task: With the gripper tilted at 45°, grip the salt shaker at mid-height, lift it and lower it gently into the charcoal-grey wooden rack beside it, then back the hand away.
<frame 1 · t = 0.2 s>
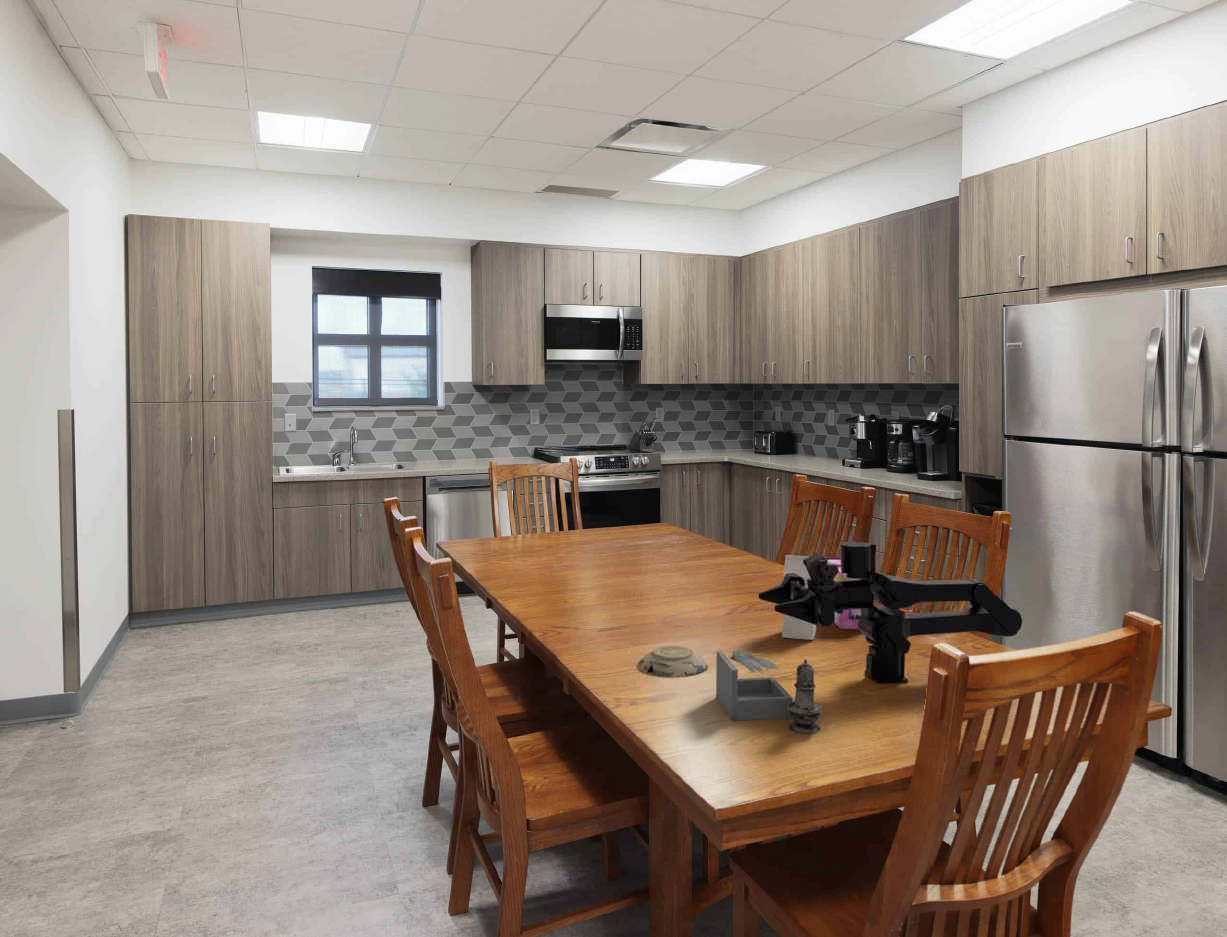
hand: (766, 602, 160), 16 cm above the table, tool horizontal, fingers open, 9 cm apart
shaker rack: (753, 707, 150), on the table
decorative bowl: (672, 668, 173), on the table
milk carton: (799, 636, 195), on the table
leaf: (762, 672, 171), on the table
gum box: (844, 618, 211), on the table
salt shaker: (804, 728, 141), on the table
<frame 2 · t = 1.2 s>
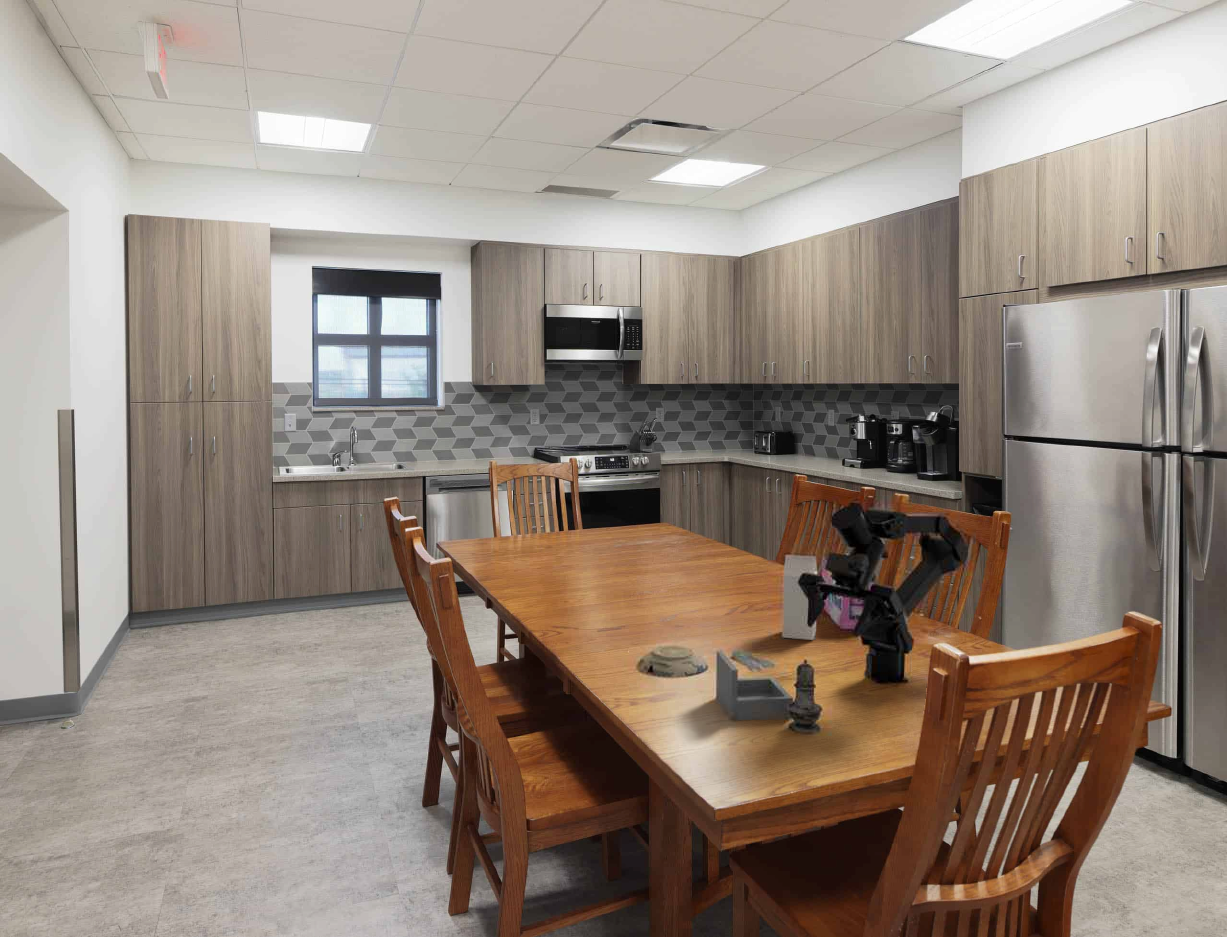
hand: (831, 630, 150), 14 cm above the table, tool tilted 45°, fingers open, 9 cm apart
nothing on the table moved.
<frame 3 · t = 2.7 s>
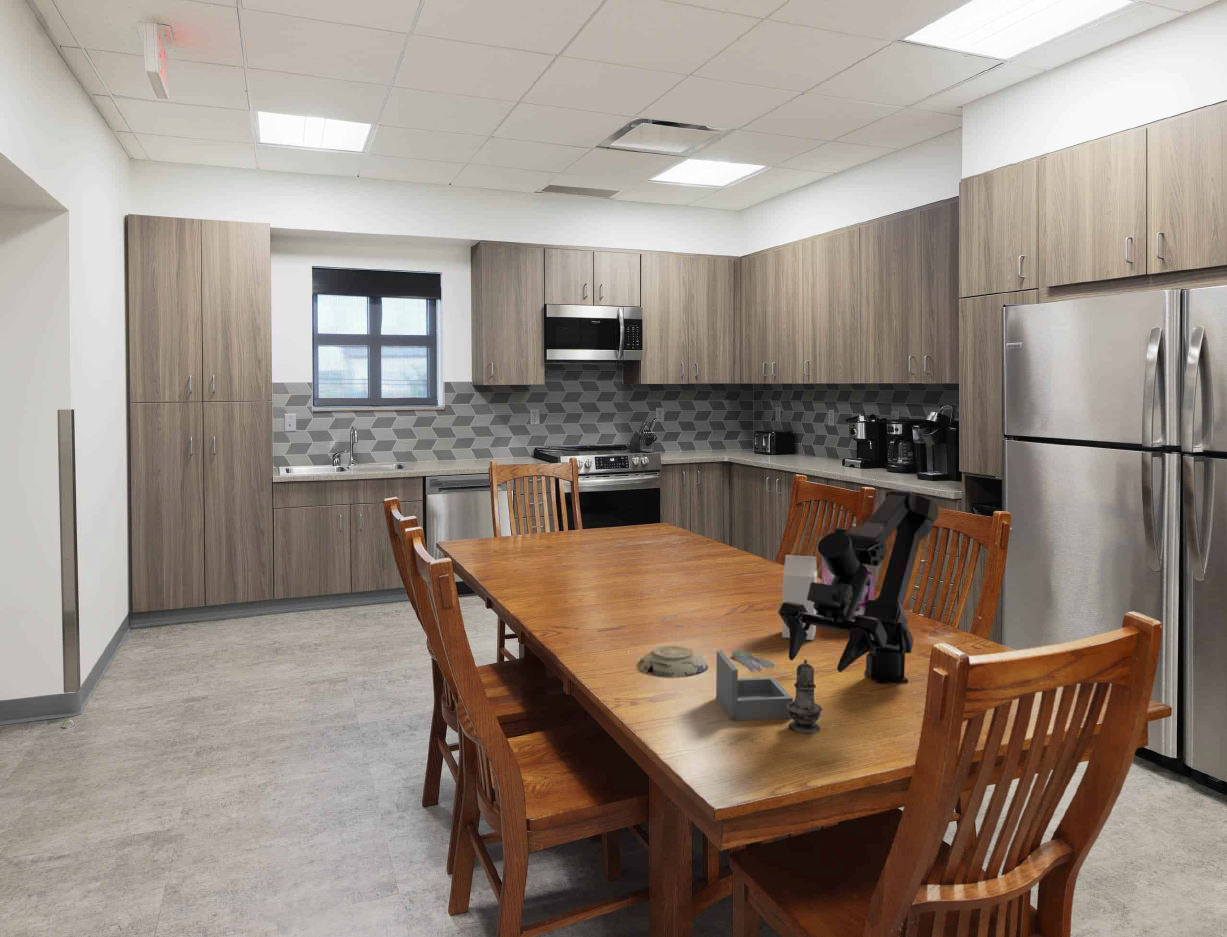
hand: (814, 664, 142), 10 cm above the table, tool tilted 45°, fingers open, 9 cm apart
nothing on the table moved.
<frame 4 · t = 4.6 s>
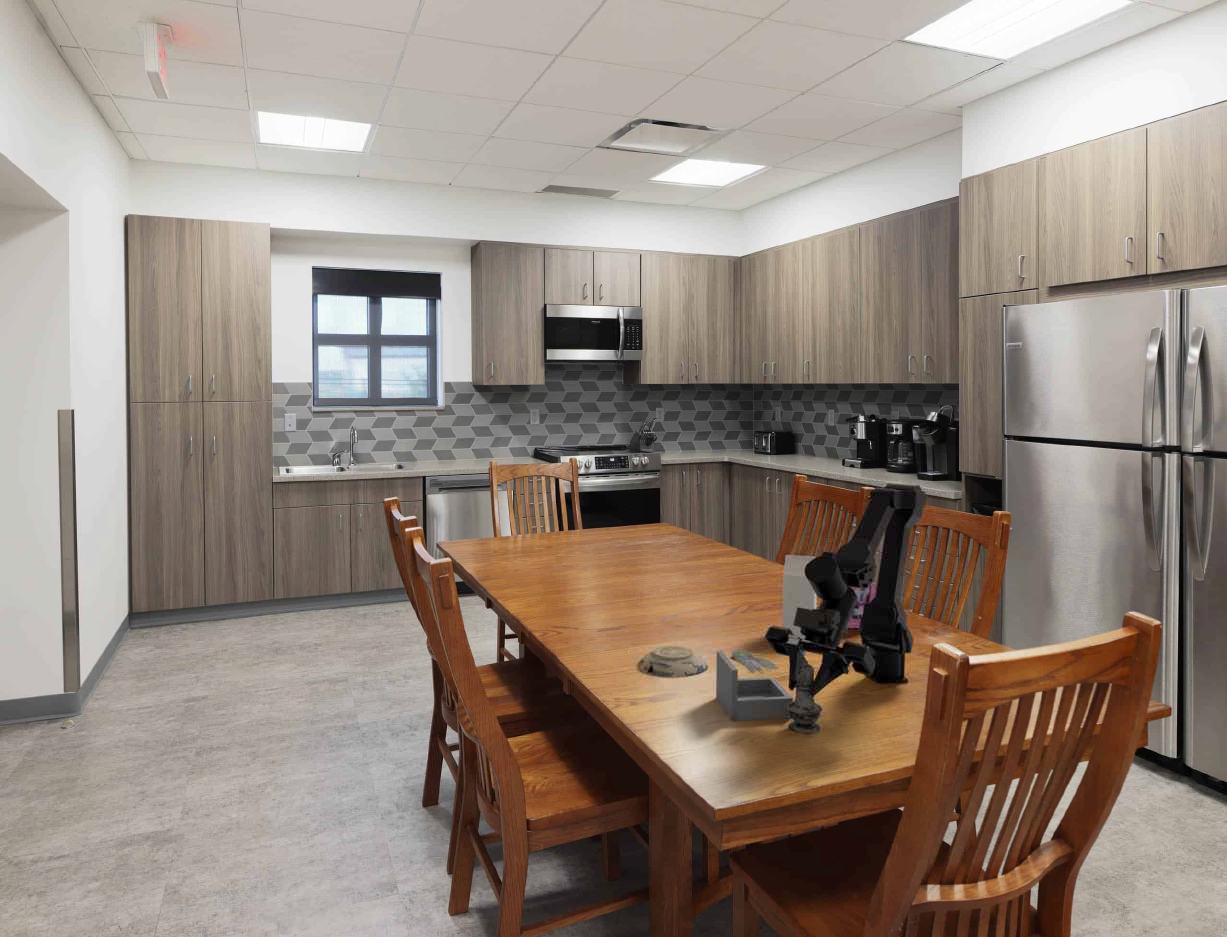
hand: (800, 692, 139), 7 cm above the table, tool tilted 45°, fingers closed on salt shaker, 4 cm apart
salt shaker: (804, 728, 141), on the table, touching gripper
everything else where it was.
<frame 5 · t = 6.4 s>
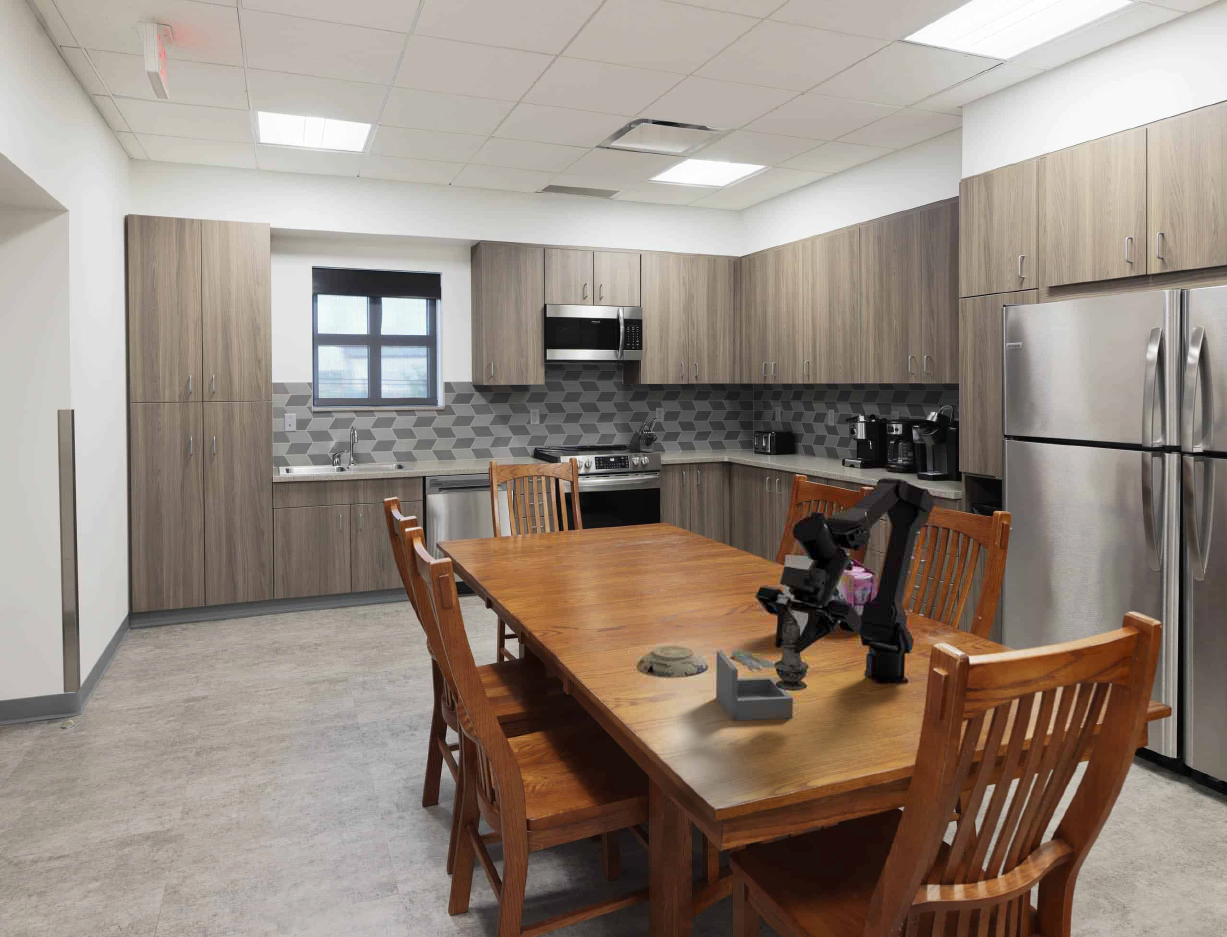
hand: (786, 649, 141), 13 cm above the table, tool tilted 45°, fingers closed on salt shaker, 4 cm apart
salt shaker: (791, 686, 142), point 6 cm above the table, touching gripper
everything else where it was.
when the fingers open (9 cm above the table, at t = 8.4 s): salt shaker drops 1 cm, resting on shaker rack.
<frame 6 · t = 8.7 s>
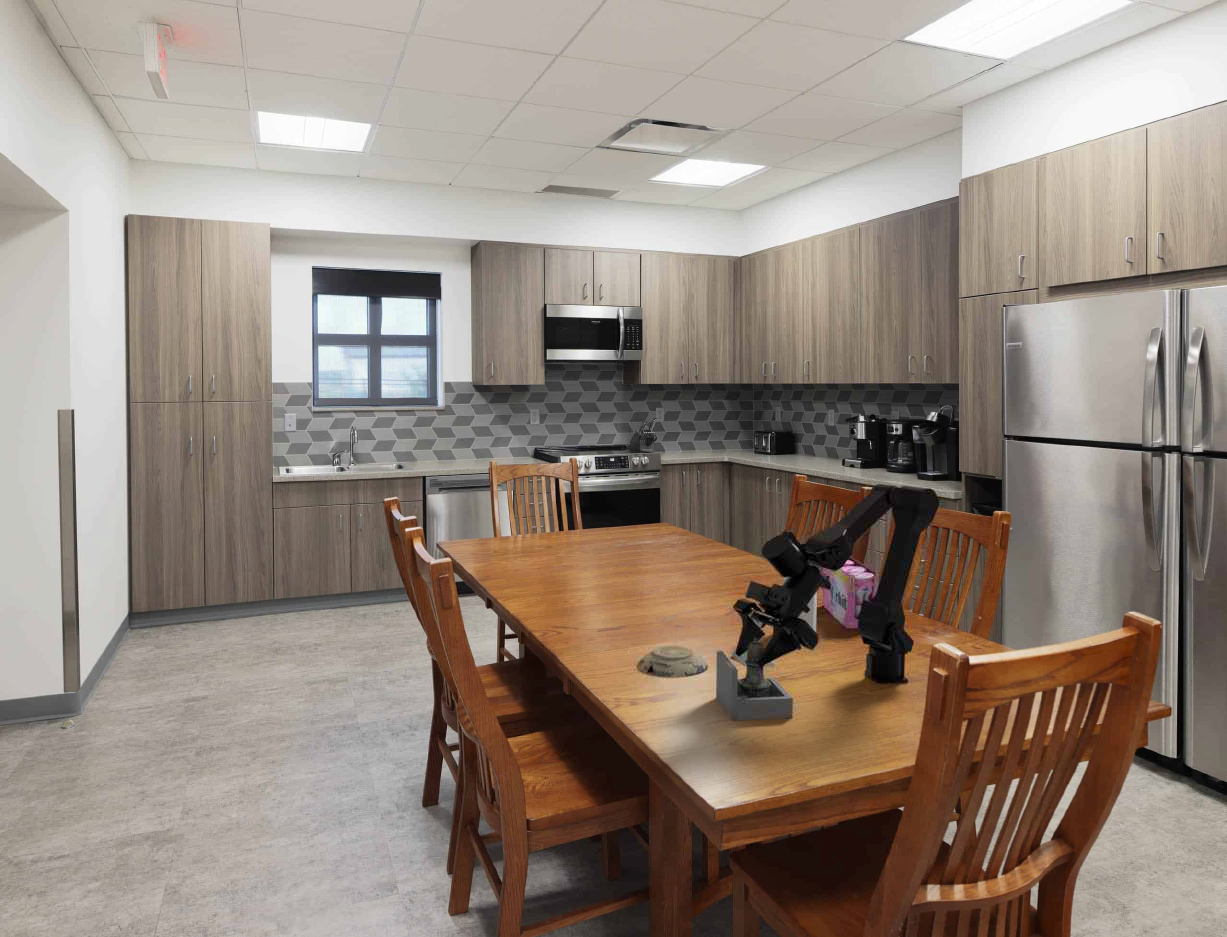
hand: (747, 659, 148), 9 cm above the table, tool tilted 45°, fingers open, 6 cm apart
salt shaker: (754, 703, 150), point 1 cm above the table, touching shaker rack
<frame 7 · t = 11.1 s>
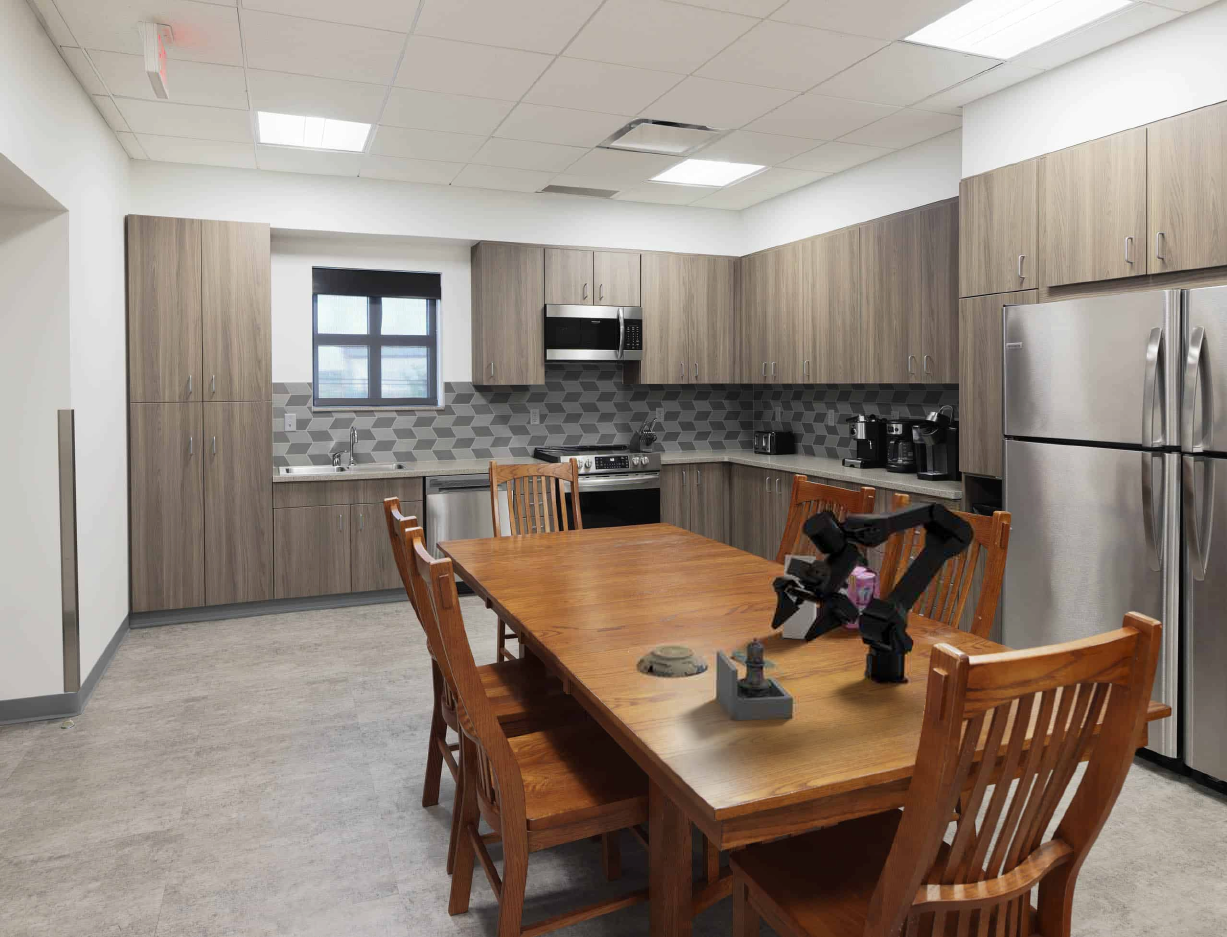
hand: (788, 634, 152), 12 cm above the table, tool tilted 45°, fingers open, 9 cm apart
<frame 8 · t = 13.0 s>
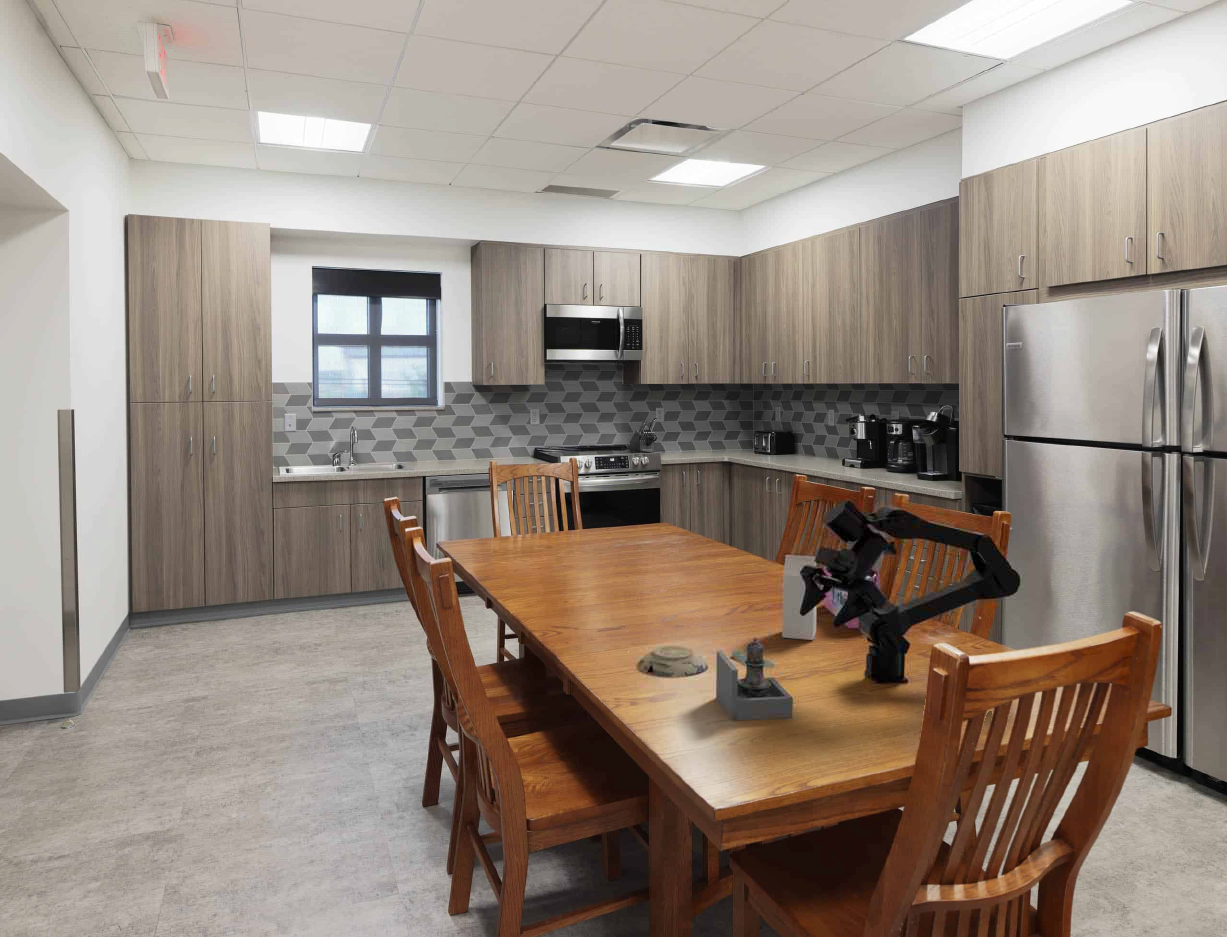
hand: (817, 620, 158), 14 cm above the table, tool tilted 45°, fingers open, 9 cm apart
at the end: salt shaker 0.2 cm off-centre on the shaker rack, point 0.8 cm above the shaker rack's base; salt shaker tilted 0°; the gripper is holding nothing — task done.
